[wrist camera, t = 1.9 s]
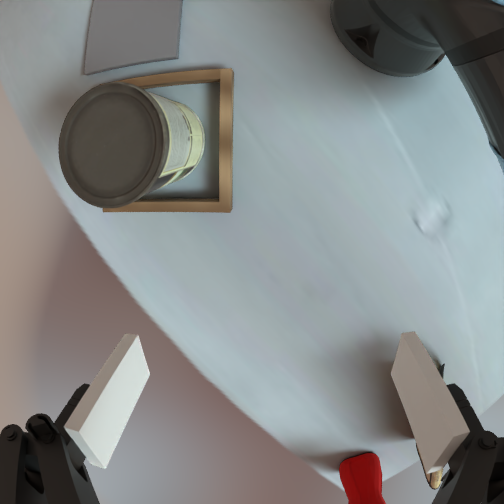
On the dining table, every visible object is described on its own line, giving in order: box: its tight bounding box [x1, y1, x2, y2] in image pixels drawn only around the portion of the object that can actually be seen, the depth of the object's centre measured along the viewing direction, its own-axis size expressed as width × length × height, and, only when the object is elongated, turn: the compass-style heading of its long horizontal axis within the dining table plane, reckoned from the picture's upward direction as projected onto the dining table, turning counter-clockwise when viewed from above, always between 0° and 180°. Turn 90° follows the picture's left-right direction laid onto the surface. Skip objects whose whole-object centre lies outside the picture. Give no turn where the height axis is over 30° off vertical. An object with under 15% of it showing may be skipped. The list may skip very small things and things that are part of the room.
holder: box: [100, 68, 234, 213], centre depth 33 cm, size 16×16×2 cm
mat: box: [84, 0, 183, 75], centre depth 28 cm, size 13×13×1 cm
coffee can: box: [59, 82, 205, 208], centre depth 27 cm, size 10×10×14 cm
